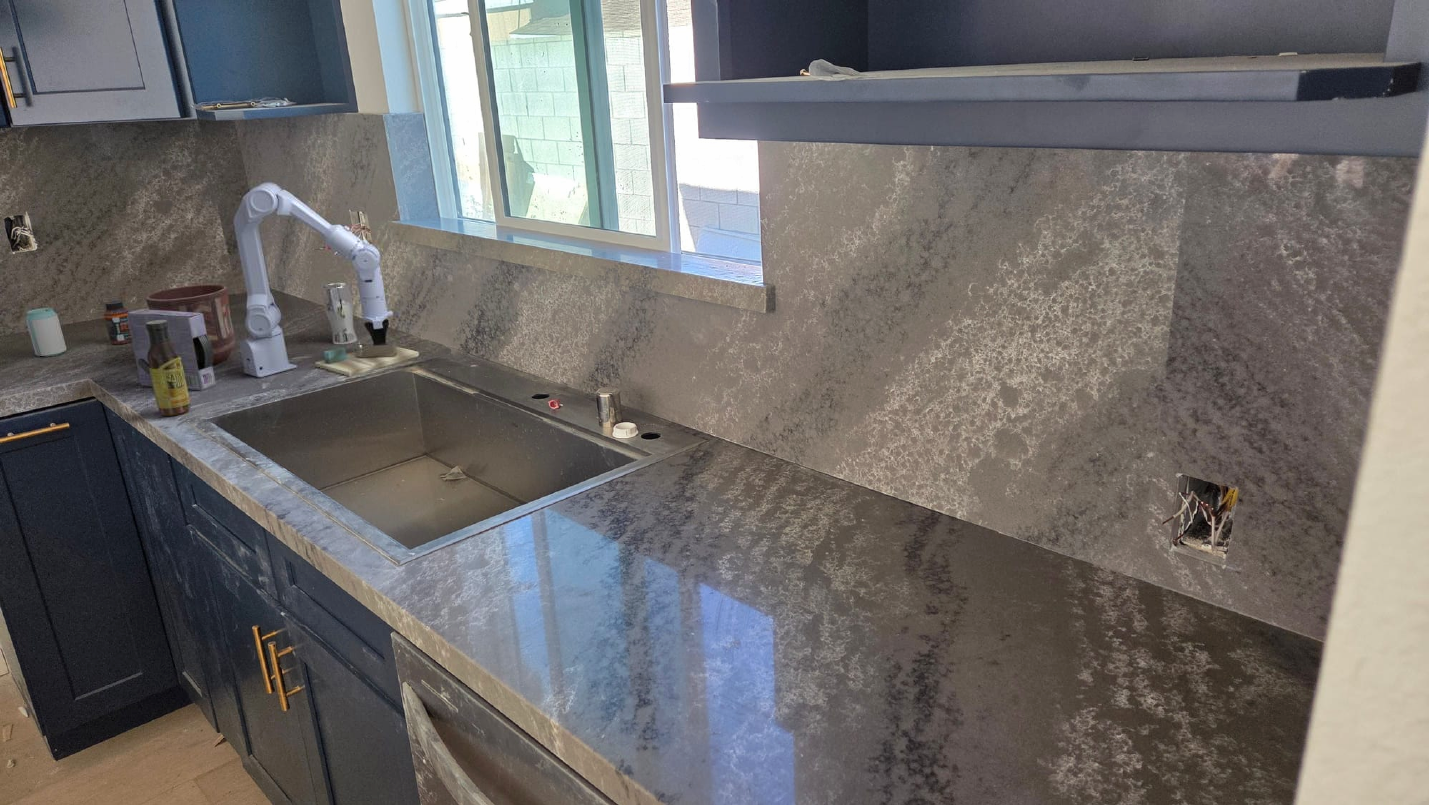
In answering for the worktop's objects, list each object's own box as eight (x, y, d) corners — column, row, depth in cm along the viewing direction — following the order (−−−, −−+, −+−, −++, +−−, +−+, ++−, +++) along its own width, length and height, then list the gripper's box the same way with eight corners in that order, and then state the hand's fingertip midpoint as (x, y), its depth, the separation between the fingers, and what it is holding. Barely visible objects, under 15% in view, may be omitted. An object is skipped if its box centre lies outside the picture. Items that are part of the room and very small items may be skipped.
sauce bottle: (178, 417, 211) (156, 326, 204) (152, 417, 212) (130, 326, 205) (199, 407, 217) (178, 318, 210) (174, 406, 218) (153, 317, 211)
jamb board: (349, 376, 233) (347, 360, 232) (315, 366, 242) (312, 351, 241) (418, 355, 246) (416, 340, 245) (384, 347, 256) (381, 332, 254)
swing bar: (354, 357, 243) (352, 344, 242) (358, 354, 246) (356, 341, 245) (393, 356, 243) (391, 342, 242) (397, 353, 245) (395, 339, 244)
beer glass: (341, 346, 259) (330, 289, 254) (325, 342, 263) (315, 286, 258) (364, 339, 264) (354, 283, 259) (349, 336, 268) (339, 281, 263)
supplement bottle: (127, 344, 272) (117, 304, 268) (106, 345, 272) (95, 305, 268) (140, 338, 277) (130, 298, 274) (119, 339, 278) (108, 299, 274)
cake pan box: (222, 384, 232) (205, 310, 226) (205, 391, 227) (188, 316, 222) (157, 380, 238) (139, 308, 232) (140, 387, 233) (121, 313, 227)
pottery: (202, 374, 241) (186, 300, 235) (146, 370, 246) (129, 298, 241) (256, 354, 257) (242, 284, 251) (202, 350, 262) (187, 283, 256)
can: (54, 349, 270) (42, 306, 266) (73, 351, 268) (61, 307, 264) (30, 357, 264) (17, 313, 260) (49, 358, 262) (36, 314, 258)
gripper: (392, 300, 236) (400, 355, 240) (387, 288, 249) (395, 340, 253) (360, 304, 233) (369, 359, 238) (357, 291, 246) (366, 344, 251)
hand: (380, 350), depth 245 cm, fingers closed, pressing on swing bar
